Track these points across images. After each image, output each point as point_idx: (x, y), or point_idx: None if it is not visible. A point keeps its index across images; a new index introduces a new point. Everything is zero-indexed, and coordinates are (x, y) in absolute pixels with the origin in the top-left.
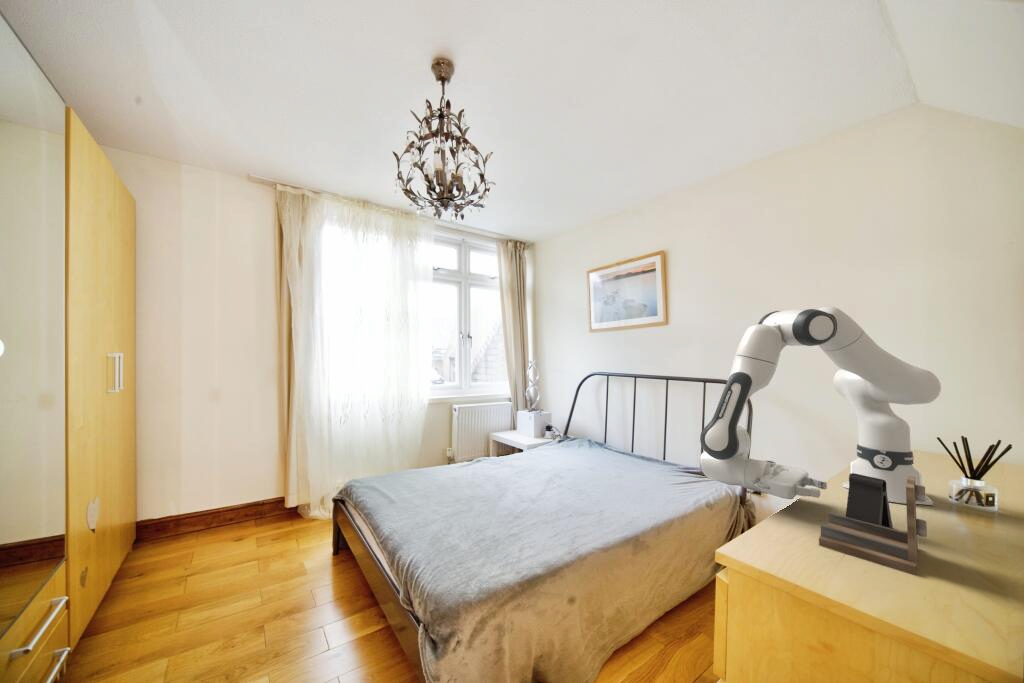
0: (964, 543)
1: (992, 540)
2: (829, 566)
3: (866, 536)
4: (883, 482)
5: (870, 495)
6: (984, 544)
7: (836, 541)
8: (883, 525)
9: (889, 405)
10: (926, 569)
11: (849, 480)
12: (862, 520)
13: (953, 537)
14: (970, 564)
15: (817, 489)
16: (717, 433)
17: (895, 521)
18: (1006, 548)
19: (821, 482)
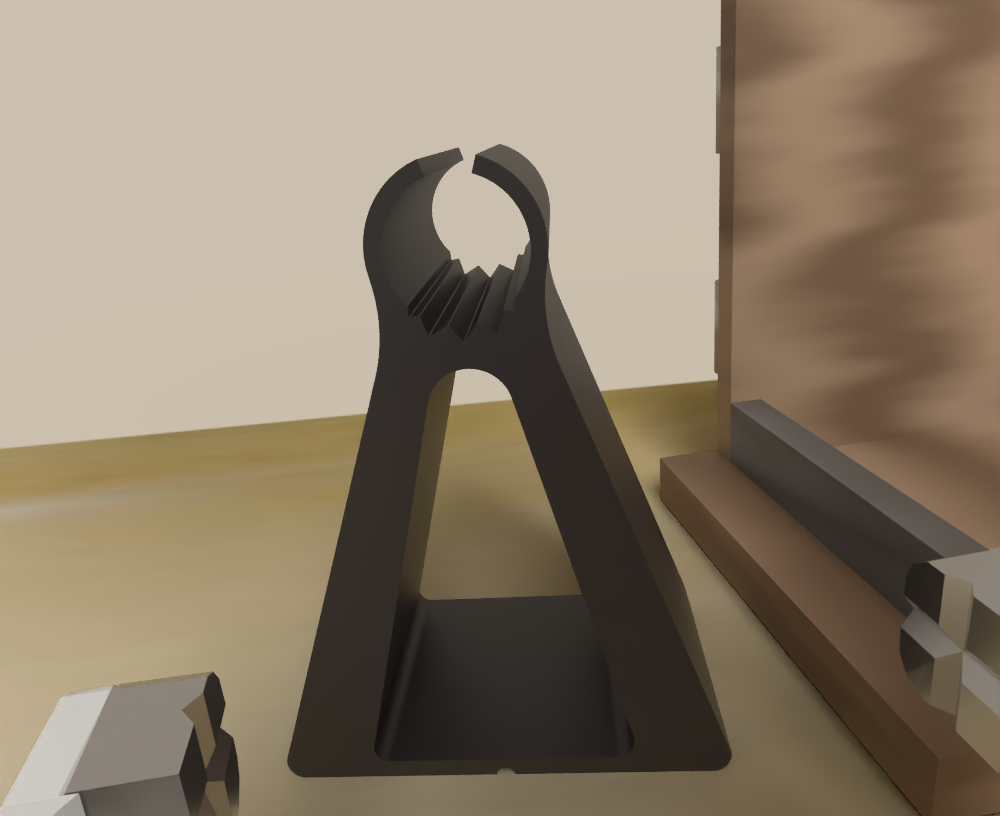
0: (305, 472)
1: (137, 458)
2: None
3: (968, 535)
4: (435, 186)
5: (566, 332)
6: (240, 455)
7: None
8: (415, 616)
9: None
10: None
11: (545, 253)
12: (674, 586)
13: (235, 496)
14: (617, 429)
15: (953, 566)
16: None
17: (125, 646)
18: (227, 434)
19: (194, 720)
